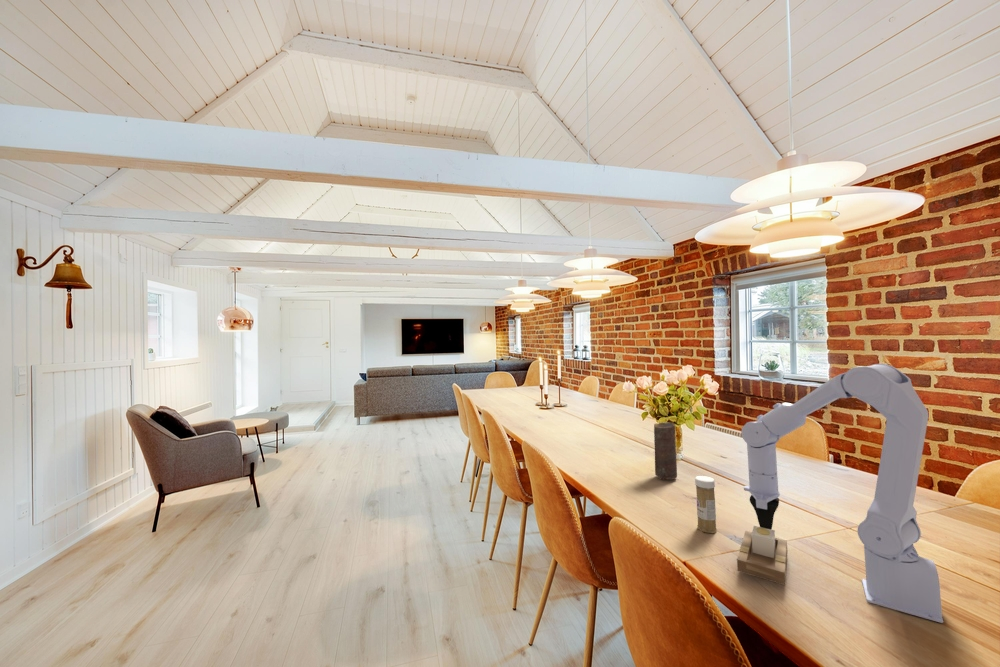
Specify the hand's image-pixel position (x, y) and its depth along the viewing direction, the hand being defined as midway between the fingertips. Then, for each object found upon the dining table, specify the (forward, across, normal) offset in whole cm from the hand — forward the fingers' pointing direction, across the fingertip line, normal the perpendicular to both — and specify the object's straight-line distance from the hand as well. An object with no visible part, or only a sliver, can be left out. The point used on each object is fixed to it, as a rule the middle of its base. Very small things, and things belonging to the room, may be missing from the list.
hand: (766, 528), depth 90 cm
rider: (+2, +7, 0) cm, 7 cm away
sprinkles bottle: (+5, -2, -13) cm, 14 cm away
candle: (+5, -34, -32) cm, 47 cm away
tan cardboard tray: (+4, +9, 0) cm, 10 cm away
